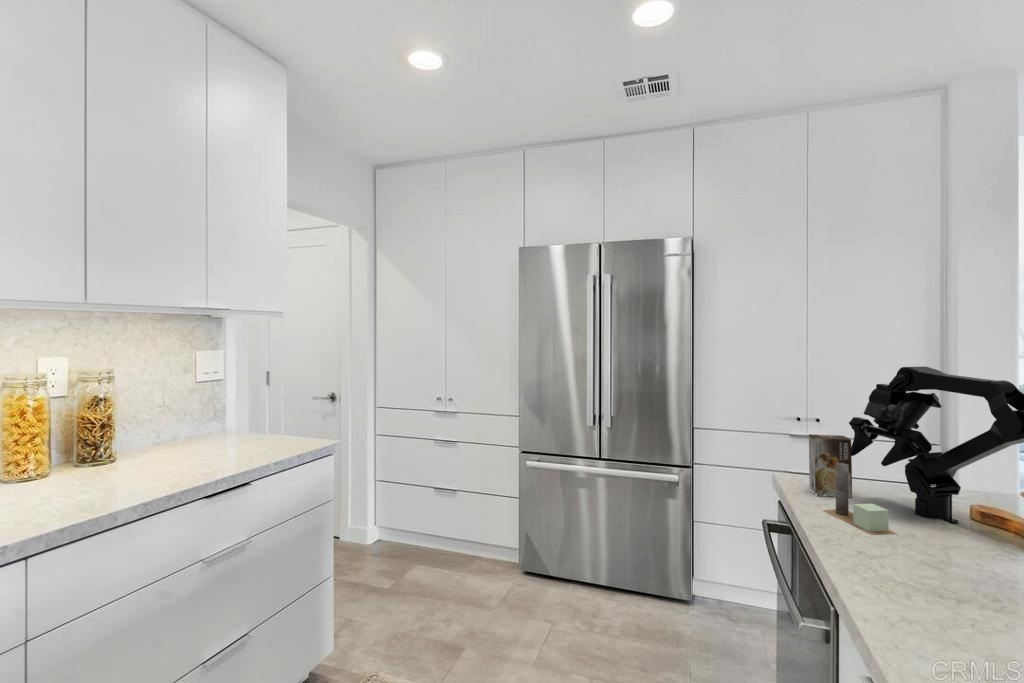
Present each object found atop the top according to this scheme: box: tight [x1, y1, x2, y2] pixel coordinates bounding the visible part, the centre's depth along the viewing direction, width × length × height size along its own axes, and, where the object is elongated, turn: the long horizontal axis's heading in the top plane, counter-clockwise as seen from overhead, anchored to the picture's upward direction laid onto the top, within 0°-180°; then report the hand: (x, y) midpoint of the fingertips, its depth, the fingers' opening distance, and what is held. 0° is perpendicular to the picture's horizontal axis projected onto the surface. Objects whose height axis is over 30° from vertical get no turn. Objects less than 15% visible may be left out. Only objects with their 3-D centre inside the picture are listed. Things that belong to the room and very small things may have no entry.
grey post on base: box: [822, 463, 898, 536], centre depth 120 cm, size 6×16×13 cm, turn 4°
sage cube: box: [852, 503, 890, 532], centre depth 116 cm, size 5×5×5 cm
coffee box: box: [808, 433, 853, 499], centre depth 144 cm, size 9×6×16 cm
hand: (866, 459), depth 127 cm, fingers open, 9 cm apart
